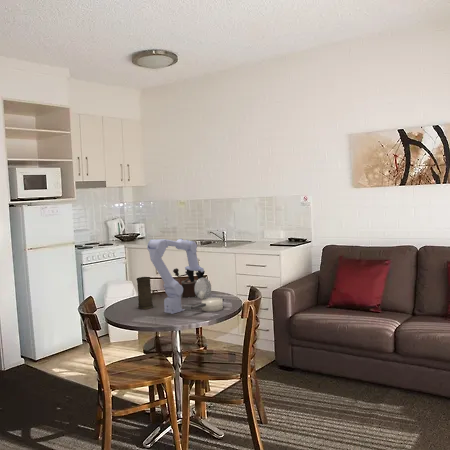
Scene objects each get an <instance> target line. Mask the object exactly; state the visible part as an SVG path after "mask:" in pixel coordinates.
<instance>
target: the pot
mask: <svg viewBox="0 0 450 450" xmlns="http://www.w3.org/2000/svg"><path fill="white" fill-rule="evenodd" d="M224 301H225V298H222V297H221V298H220V297H208V298H206V299H201V303H199V304H195V305H191V307H190V309H191V310H196V309H197V310H198V309H200V308H201V310H202V311H203V312H209V313H210V312H219V311H221V310H223V309H224V304H223V303H224Z"/></svg>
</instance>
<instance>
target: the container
mask: <svg viewBox="0 0 450 450" xmlns="http://www.w3.org/2000/svg"><path fill="white" fill-rule="evenodd" d="M151 279H152V278H151V276H140V277H137V278H136V280H135V281H137V293H138V294H137V297H138V299H137V300H138V304H137V305H138V306H137V308H138V309H139V310H149V309H152V308H154V305H153V298H152V289H151V288H152V286H151Z"/></svg>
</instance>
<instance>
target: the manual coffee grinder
mask: <svg viewBox="0 0 450 450" xmlns="http://www.w3.org/2000/svg"><path fill="white" fill-rule="evenodd" d="M172 273H173V274H174V276H175V277H178V278H180V277H181V278H182V277H185V276H187V277H188V275H187V274H186V273H184V274H181V275H180V273H179V268H177V267H176V268H173V270H172ZM197 280H198V279H194V281H193V282H191V281H190V279H189V277H188V278H186V279H185V280H181V285H182V287H183V293H182V295H181V298H182V299H187V298H188V297H190V298H196V297H195V296H196V294H195V290H194V288H195V283H196V281H197Z"/></svg>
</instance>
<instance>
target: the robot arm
mask: <svg viewBox="0 0 450 450" xmlns="http://www.w3.org/2000/svg"><path fill="white" fill-rule="evenodd" d="M169 247H174V248H175V249H177V250H183V251H185V252H186V257H187V262H188V265H187V266H185V267H184V269H185V273H184V274H187V275H186V276H187V277H189V279H190V281H191V282H193V281H194V280H195V276H194V275H196V276H197V280H198V279H200V278H204V275H205V268H204V267H201V265H199V260H198V255H197V252H198V250H197V249H198V244H197V243H196V241H194V240H189V239H183V238H179V239H177V240H173V239H172V240H171V239H167V238H165V239H164V238H159V239H158V238H157V239H149V241H148V242H147V247H146V248H147V250H148V252H149V258H150V261H151V262H152V265H153V266H154V268H155V269H156V271H157V272H158V274H159V277H160V278H161V279H162V281H163V288H164V291H165V294H166V295H167V297H165V298H164V301H163V305H164V306H163V307H164V308H163V309H164V311H163V313H166V314H172V315H173V314H176V313H180V312H184V311H185V310H186V309H185V308H182V293H183V287H182V284H180V283H179V281H178V280H176V279H174V277H173V276H172V274H171V272H170V270H169V269H168V267H167V265H166V263H165V262H164V260H163V259H162V257H163V256H164V254H165V252H166V250H167V248H169Z"/></svg>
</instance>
